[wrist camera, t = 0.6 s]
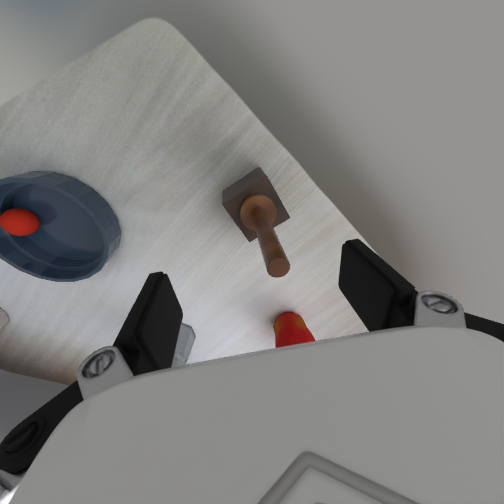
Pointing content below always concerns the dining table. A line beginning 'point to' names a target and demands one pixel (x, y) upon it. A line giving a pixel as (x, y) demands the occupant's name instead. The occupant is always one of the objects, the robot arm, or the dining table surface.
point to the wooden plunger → (265, 232)
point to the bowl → (58, 227)
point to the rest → (247, 187)
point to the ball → (19, 222)
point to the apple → (291, 330)
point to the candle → (3, 319)
